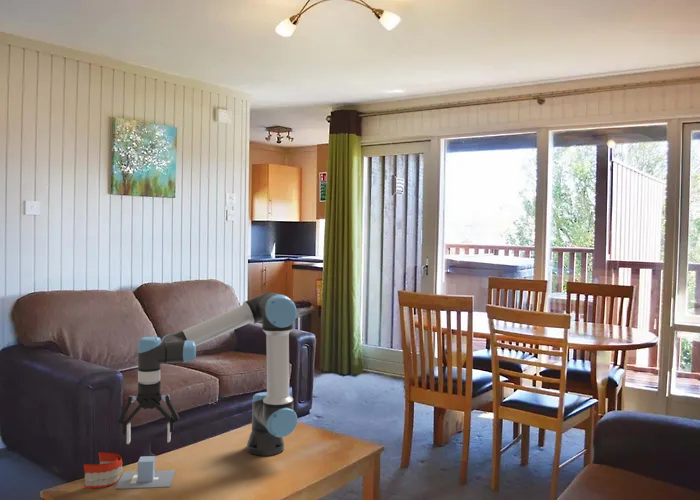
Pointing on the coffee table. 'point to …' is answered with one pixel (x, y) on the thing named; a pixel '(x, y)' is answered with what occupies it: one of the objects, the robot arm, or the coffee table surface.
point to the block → (146, 469)
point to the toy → (103, 471)
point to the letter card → (130, 481)
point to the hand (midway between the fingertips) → (148, 441)
